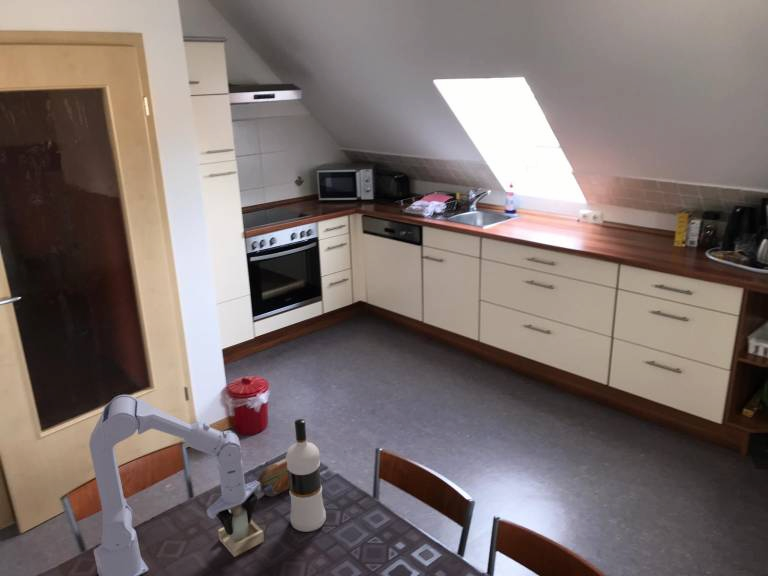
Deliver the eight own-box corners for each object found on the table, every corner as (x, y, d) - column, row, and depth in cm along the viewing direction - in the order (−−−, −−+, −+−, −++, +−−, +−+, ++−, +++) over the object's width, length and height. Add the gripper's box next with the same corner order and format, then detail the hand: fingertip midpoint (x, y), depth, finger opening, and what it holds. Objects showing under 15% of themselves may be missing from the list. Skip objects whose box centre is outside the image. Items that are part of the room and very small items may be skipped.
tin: (263, 501, 171) (260, 475, 168) (258, 496, 173) (255, 470, 170) (309, 479, 180) (307, 454, 177) (303, 474, 182) (301, 449, 179)
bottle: (236, 543, 152) (233, 516, 149) (224, 534, 155) (221, 507, 152) (253, 532, 155) (250, 505, 153) (241, 523, 158) (237, 497, 156)
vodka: (283, 522, 162) (273, 422, 152) (310, 505, 168) (302, 407, 159) (306, 539, 156) (297, 435, 146) (333, 520, 162) (326, 419, 153)
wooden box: (234, 557, 151) (233, 547, 150) (219, 539, 157) (218, 529, 156) (264, 541, 156) (263, 531, 155) (248, 524, 162) (247, 515, 161)
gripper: (246, 460, 158) (251, 505, 162) (197, 488, 148) (204, 535, 152) (263, 471, 153) (268, 516, 158) (214, 500, 143) (221, 548, 147)
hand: (238, 526), depth 154 cm, fingers closed on bottle, 5 cm apart
